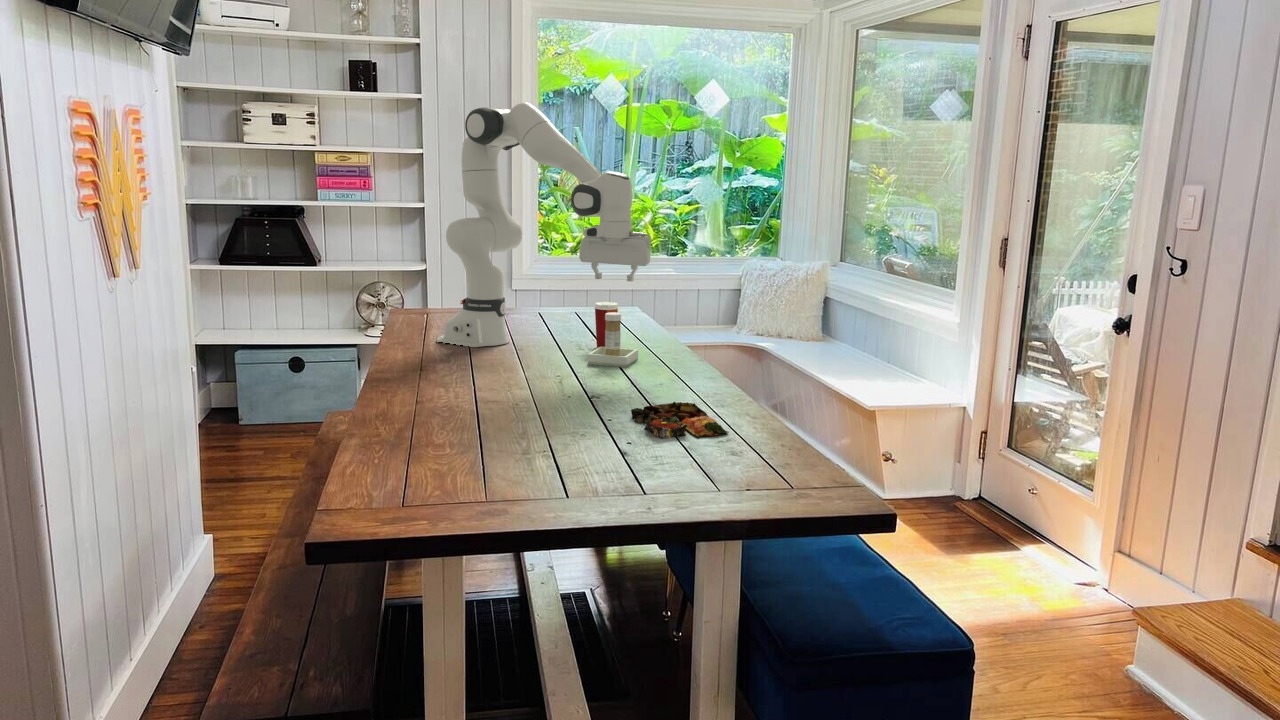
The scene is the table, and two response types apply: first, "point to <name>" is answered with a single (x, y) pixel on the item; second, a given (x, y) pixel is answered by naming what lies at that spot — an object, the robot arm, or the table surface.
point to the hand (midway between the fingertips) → (614, 280)
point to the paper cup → (603, 320)
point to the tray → (613, 357)
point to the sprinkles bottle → (612, 334)
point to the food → (676, 420)
